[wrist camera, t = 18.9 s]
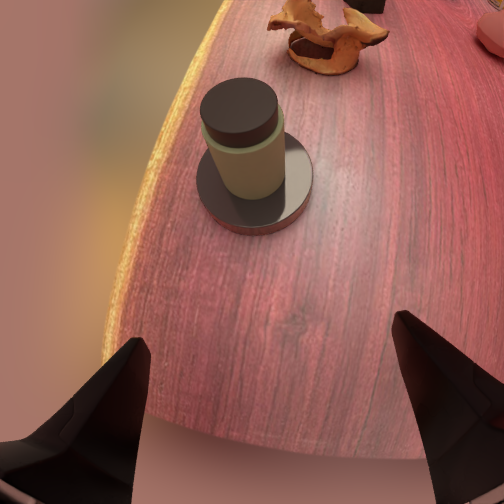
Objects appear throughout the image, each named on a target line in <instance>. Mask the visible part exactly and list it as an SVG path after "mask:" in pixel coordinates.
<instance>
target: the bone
mask: <svg viewBox="0 0 504 504" xmlns="http://www.w3.org/2000/svg"><path fill="white" fill-rule="evenodd" d="M315 7H316V5H315V4H314V3H312V2H311V0H287V1H286V3H285V5H284V6H283V7H282V9H283V11H282V12H281V13H279V14H277V15H274V16H271V17H270V18H271V19H270V21H269V24H268V27H267V31H270V30H271V29H272V30H278V29H282V28H284V29H285V30H286V29H288V28H294V29H295V31H293V33H291V35H290V37H289V40H288V44H289V50H287V52H286V53H288V55H289V56H290V58H291V60H293V61H295V62H297V63H299V65H300V66H301V67H304V68H306V69H308V70H312V71H315V72H318V73H321V74H325V75H339V74H342V73H346V72H349V71H350V70H352V69H354V68H355V67H356V66H357V65H358V61H359V60H358V57H359V51H360V50H362V49H364V48H366V47H367V46H374V45H377V44H379V43H380V42H382V41H384V40H385V39H386V38H387V37H388V33H389V32H390V31H387V30H386V29H383V28H381V27H379V26H377V25H376V24H374V23H372V22H371V21H370V20H369V19H368V18H367V17H366V16H365V15H363V14H361V13H360V12H359V11H357V10H355V9H353V8H344V9H343V11H344V17H345V19H346V20H347V24H348V25H340V26H338V27H336V28H334V29H333V30H332V31H331V30H329V29H325V28H324V27H323V26H322V21H321V19H322V18H324V16H322V15H320V14H319V13H318V12H316V11H315V10H314V9H315ZM304 37H305V38H307V39H308V40H310V41H312V43H316V44H319V45H320V46H324V47H330V48H334V54H333V55H332V58H331V59H329V60H324V59H323V58H321V59H313V58H307V57H301V56H297V55H296V54H295V52H294V51H293V50H292V49H291V48H290V46H291V43H292V42H294V41H295V40H298V39H301V38H304ZM322 48H323V47H322ZM315 74H317V73H315Z"/></svg>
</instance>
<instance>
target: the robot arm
mask: <svg viewBox="0 0 504 504" xmlns="http://www.w3.org/2000/svg"><path fill="white" fill-rule="evenodd" d="M392 337H393V341H394V345H395V349H396V353H397V358H398V362H399V366H400V370H401V374H402V377H403V380H404V383H405V386H406V389H407V392H408V395H409V398H410V401H411V404H412V408H413V411H414V414H415V417H416V421H417V424H418V428H419V431H420V435H421V439H422V442H423V446H424V450H425V454H426V458H427V462H428V466H429V471H430V475H431V480H432V484H433V489H434V494H435V499H436V504H465V503H467V502H469V504H504V384H503V383H501V382H500V381H498V380H497V379H496V378H494V377H493V376H491V375H490V374H489V373H487V372H486V371H485V370H484V369H482V368H481V367H480V366H478V365H477V364H476V363H474V362H473V361H472V360H471V359H470V358H468V357H467V356H466V355H465V354H463V353H462V352H461V351H460V350H458V349H457V348H456V347H455V346H453V345H452V344H451V343H449V342H448V341H447V340H446V339H444V338H443V337H442V336H440V335H439V334H438V333H437V332H435V331H434V330H433V329H431V328H430V327H429V326H427V325H426V324H425V323H424V322H422V321H421V320H420V319H418V318H417V317H416V316H414V315H413V314H412V313H410V312H409V311H407V310H402V311H397V312H396V313H395V316H394V320H393V324H392ZM150 363H151V353H150V351H149V349H148V347H147V345H146V343H145V341H144V340H143V338H141V337H133V338H130V339H129V340H128V341H127V342H126V343H125V344H124V345H123V346H122V347H121V348H120V349H119V350H118V351H117V352H116V353H115V354H114V355H113V356H112V357H111V358H110V359H109V360H108V361H107V362H106V363H105V364H104V365H103V366H102V367H101V368H100V369H99V370H98V371H97V372H96V373H95V374H94V375H93V376H92V377H91V378H90V379H89V380H88V381H87V382H86V383H85V384H84V385H83V386H82V387H81V388H80V389H79V391H77V393H76V394H74V396H73V397H72V398H71V399H70V400H69V401H68V402H67V403H66V404H65V405H64V406H63V407H62V408H61V409H60V410H58V411H57V412H56V413H55V414H54V415H53V416H52V417H51V418H50V419H49V420H47V421H46V422H45V423H44V424H43V425H41V426H40V427H39V428H38V429H37V430H36V431H35V432H33V433H32V434H31V435H29V436H28V437H26V438H24V439H21V440H16V441H8V442H0V504H131V500H132V492H133V488H132V487H133V482H134V474H135V467H136V460H137V453H138V447H139V440H140V434H141V428H142V422H143V416H144V411H145V406H146V400H147V395H148V386H149V374H150Z"/></svg>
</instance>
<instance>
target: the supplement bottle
mask: <svg viewBox="0 0 504 504" xmlns="http://www.w3.org/2000/svg"><path fill="white" fill-rule="evenodd" d="M488 2H489V3H490V4H491V5H492V6H494V7H495V8H497V9H498V10H503V9H504V0H488Z"/></svg>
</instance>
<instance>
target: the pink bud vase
mask: <svg viewBox="0 0 504 504" xmlns="http://www.w3.org/2000/svg"><path fill="white" fill-rule="evenodd" d="M476 34H477V37H478V38H479V40H480V41H481V42H482V43H483V44H484V45H485V48H486V49H487V50H488V51H489V52H491V53H492V54H496V55H498V56H500V57H502V58H504V9H503V10H500V11H498V12H492V13H484V15H483V16H482V17H481V18H480V20H479V21H478V22H477V32H476Z"/></svg>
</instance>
